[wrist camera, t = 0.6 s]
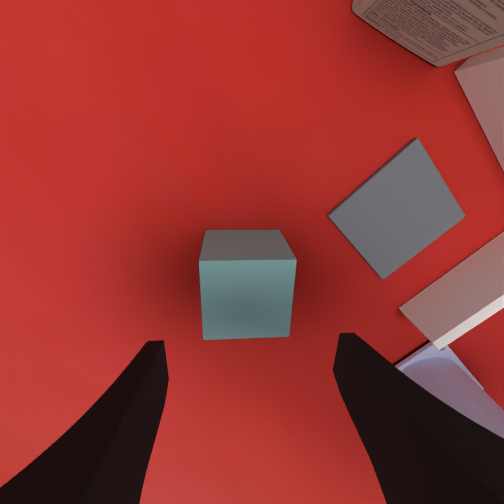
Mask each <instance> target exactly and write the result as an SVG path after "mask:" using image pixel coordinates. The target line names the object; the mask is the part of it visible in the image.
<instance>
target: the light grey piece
mask: <svg viewBox="0 0 504 504" xmlns="http://www.w3.org/2000/svg"><path fill="white" fill-rule="evenodd" d="M454 73H455V75H456V77H457V79H458V81H459V83H460V85H461V87H462V89H463V91H464V93H465V95H466V97H467V99H468V101H469V103H470V105H471V107H472V109H473V111H474V113H475V115H476V117H477V119H478V121H479V123H480V125H481V127H482V129H483V131H484V133H485V135H486V137H487V139H488V141H489V143H490V145H491V147H492V149H493V151H494V153H495V155H496V157H497V159H498V161H499V163H500V165H501V167H502V169H503V171H504V47H501V48H498V49H495V50H492V51H489V52H486V53H482V54H479V55H476V56H473V57H470V58H469V59H468V60H466V61H465V62H464V63H463V64H462V65H461V66H460V67H459V68H458V69H456V70H455V71H454ZM502 308H504V231H503V232H502V233H501V234H499V235H498V236H497V237H495V238H494V239H492V240H491V241H490V242H488V243H487V244H486V245H484V246H483V247H481V248H480V249H479V250H477V251H476V252H475V253H473V254H472V255H471V256H469V257H468V258H466V259H465V260H464V261H462V262H461V263H460V264H458V265H457V266H455V267H454V268H453V269H451V270H450V271H449V272H447V273H446V274H445V275H443V276H442V277H440V278H439V279H438V280H436V281H435V282H434V283H432V284H431V285H429V286H428V287H427V288H425V289H424V290H423V291H421V292H420V293H419V294H417V295H416V296H414V297H413V298H412V299H410V300H409V301H408V302H406V303H405V304H403V305H402V306H401V307H399V309H400V311H401V312H402V313H403V314H404V315H405V316H406V317H407V318H408V319H409V320H410V321H411V322H412V323H413V324H414V325H415V326H416V327H417V328H418V329H419V330H420V331H421V332H422V333H423V334H424V335H425V336H426V337H427V338H428V339H429V340H430V341H431V342H432V343H433V344H434V345H435V346H436V347H437V348H438V349H439V350H440V349H442V348H443V347H445V346H446V345H448V344H449V343H451V342H452V341H454V340H455V339H457V338H458V337H460V336H461V335H463V334H464V333H466V332H467V331H469V330H470V329H472V328H474V327H475V326H477V325H478V324H480V323H481V322H483V321H484V320H486V319H487V318H489V317H490V316H492V315H493V314H495V313H496V312H498V311H499V310H501V309H502Z"/></svg>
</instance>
